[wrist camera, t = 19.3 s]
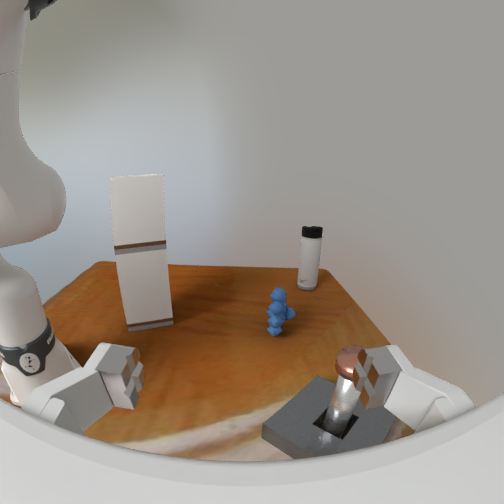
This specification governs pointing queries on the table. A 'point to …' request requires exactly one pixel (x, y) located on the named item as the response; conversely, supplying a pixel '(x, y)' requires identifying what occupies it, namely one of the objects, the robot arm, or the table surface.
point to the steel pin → (343, 392)
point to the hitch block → (313, 414)
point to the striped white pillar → (141, 249)
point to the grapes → (278, 312)
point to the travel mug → (309, 257)
